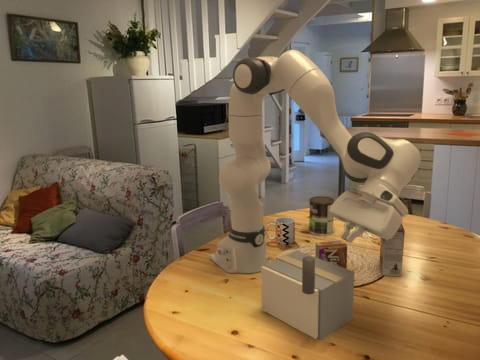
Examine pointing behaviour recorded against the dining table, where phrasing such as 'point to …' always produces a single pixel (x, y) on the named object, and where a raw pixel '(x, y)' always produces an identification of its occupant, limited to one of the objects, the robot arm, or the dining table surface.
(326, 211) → the coffee can
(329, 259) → the candy box
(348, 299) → the carton
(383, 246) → the coffee box
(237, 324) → the dining table surface
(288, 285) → the flap
